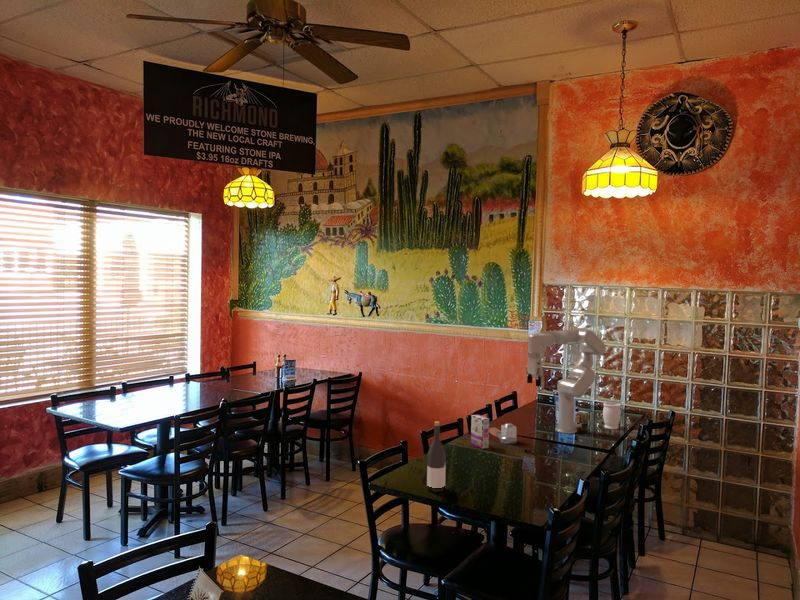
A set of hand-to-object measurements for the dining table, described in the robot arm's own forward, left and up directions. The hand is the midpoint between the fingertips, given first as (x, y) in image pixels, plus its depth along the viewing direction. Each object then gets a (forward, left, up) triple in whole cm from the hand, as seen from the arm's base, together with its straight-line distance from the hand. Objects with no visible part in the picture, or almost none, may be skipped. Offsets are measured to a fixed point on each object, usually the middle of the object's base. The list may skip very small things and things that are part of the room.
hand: (533, 384), depth 345 cm
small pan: (+20, 0, -30) cm, 36 cm away
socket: (+20, +8, -27) cm, 35 cm away
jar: (-57, -3, -31) cm, 65 cm away
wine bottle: (+85, +65, -31) cm, 111 cm away
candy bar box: (+39, +11, -31) cm, 51 cm away
